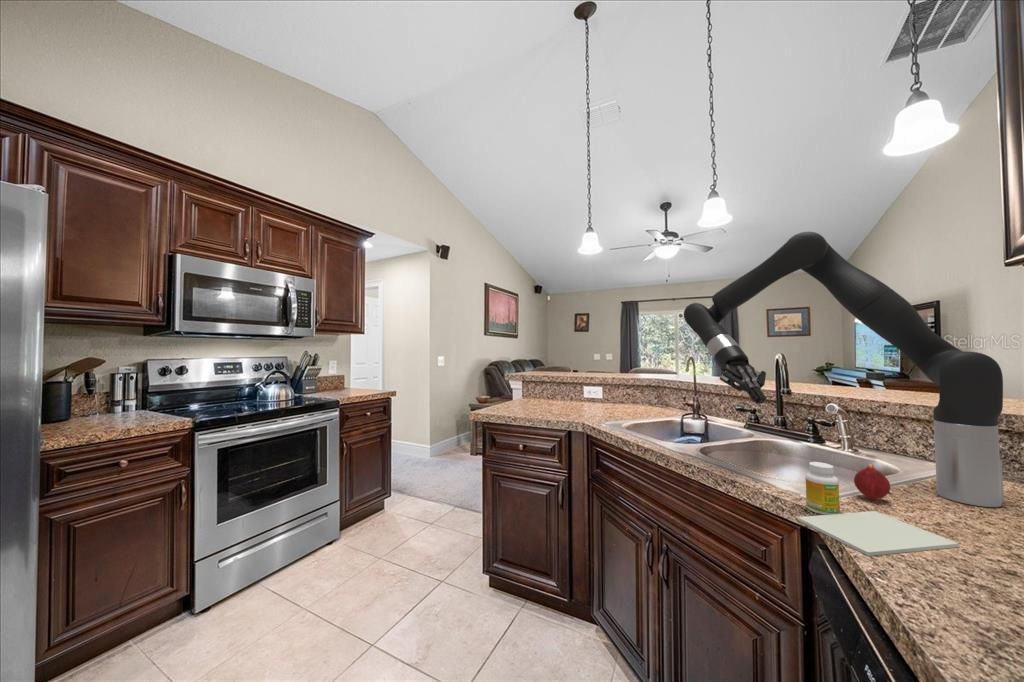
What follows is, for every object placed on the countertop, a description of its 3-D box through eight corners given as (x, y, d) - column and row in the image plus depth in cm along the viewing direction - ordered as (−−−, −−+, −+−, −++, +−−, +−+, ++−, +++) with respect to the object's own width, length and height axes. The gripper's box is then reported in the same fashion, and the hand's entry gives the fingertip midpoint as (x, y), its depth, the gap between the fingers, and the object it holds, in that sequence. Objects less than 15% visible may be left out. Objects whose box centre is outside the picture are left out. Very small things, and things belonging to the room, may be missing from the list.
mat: (875, 513, 76) (875, 511, 76) (958, 547, 63) (958, 543, 63) (797, 520, 74) (797, 517, 74) (868, 555, 61) (868, 552, 61)
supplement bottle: (827, 518, 75) (825, 469, 75) (800, 507, 80) (798, 462, 80) (846, 514, 76) (844, 467, 76) (818, 504, 81) (816, 459, 82)
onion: (898, 506, 80) (896, 469, 80) (867, 504, 81) (865, 467, 81) (877, 496, 85) (876, 461, 85) (848, 494, 86) (847, 460, 87)
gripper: (711, 344, 103) (745, 393, 90) (754, 343, 104) (793, 391, 92) (699, 362, 108) (730, 411, 95) (740, 362, 110) (776, 409, 97)
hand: (761, 401), depth 94 cm, fingers closed
